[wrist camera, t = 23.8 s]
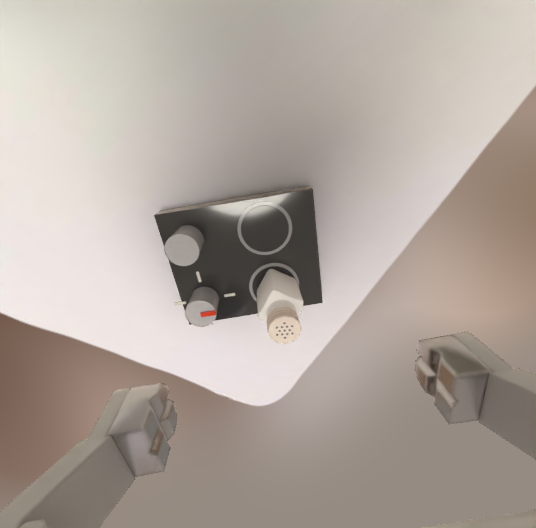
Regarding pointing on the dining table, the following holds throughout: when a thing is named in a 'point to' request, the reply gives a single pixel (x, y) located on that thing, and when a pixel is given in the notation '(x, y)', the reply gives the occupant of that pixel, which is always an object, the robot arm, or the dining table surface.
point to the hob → (243, 249)
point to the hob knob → (202, 307)
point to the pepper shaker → (280, 306)
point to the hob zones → (250, 234)
